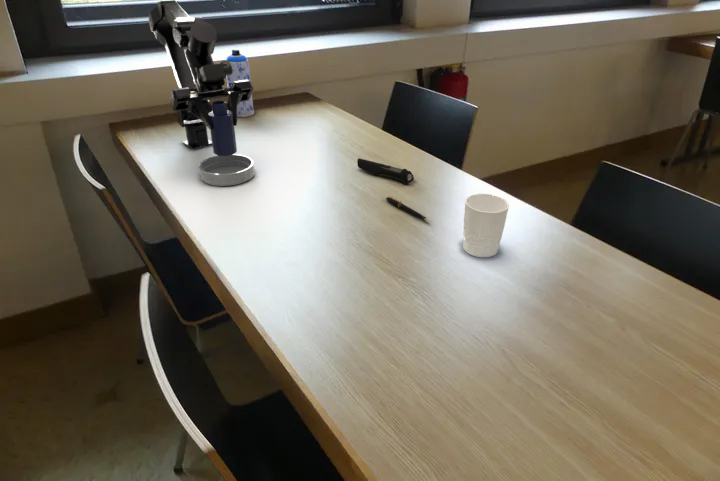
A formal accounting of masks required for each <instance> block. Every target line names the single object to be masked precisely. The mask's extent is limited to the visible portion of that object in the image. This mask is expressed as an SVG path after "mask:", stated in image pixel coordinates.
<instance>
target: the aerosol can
mask: <svg viewBox="0 0 720 481" xmlns="http://www.w3.org/2000/svg"><path fill="white" fill-rule="evenodd" d="M225 60H229V61H230V64H231V66H232V70H233V73H232V74H231V75H229V76H226V78H225V79H226V86H227V87H226V88H232V86H233V83H234V81H241V80H249V81H250V82H251V83H252V80H251V79H252V78H251V68H250V62H249V59H248V58H247V57H246V56H245V55H243V54H242V53H241V52H240V50H239V49H231V54H229V55H228V56H226V59H225ZM254 114H255V110H254V100H253V93H252V94H251V97H250V99H249V100H248V101H243V102H240V103H239V105H237V118H246V117H251V116H253V115H254Z"/></svg>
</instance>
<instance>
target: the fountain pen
mask: <svg viewBox="0 0 720 481" xmlns="http://www.w3.org/2000/svg"><path fill="white" fill-rule="evenodd" d="M385 200H386V201H387V202H389V204H391V205H393V206H394V207H397V208H398V209H400V210H402V211H405V212H406V213H408V214H410V215H412V216H414V217H416V218H419V219H420V220H422V221H426V222H430V220H429V219H428V218H427V217H426V216H424V215H423V214H421V213H420V212H418V211H416V210H414V209H413V208H411V207H409V206H407V205H405V203H402V200H400V199H398V198H396V197H393V196H390V195H388V196H386V197H385Z"/></svg>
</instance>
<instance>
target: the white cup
mask: <svg viewBox="0 0 720 481" xmlns="http://www.w3.org/2000/svg"><path fill="white" fill-rule="evenodd" d="M464 201H465V202H464V214H463V215H464V216H463V232H462V235H463V239H462V247H463V248H462V249H463V250H464V251H465V253H467V254H469V255H470V256H473V257H477V258H490V257H493V256H496V255H497V253H498V252H499V249H500V243H501V240H502V237H503V232H504V230H505V227H506V226H505V225H506V221H507V216H508V212H509V207H510V203H509V202H508V201H507V200H506V199H505V198H504V197H502V196H499V195H496V194H491V193H475V194H471V195H468V197H466V198H465V200H464Z"/></svg>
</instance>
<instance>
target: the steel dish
mask: <svg viewBox="0 0 720 481" xmlns="http://www.w3.org/2000/svg"><path fill="white" fill-rule="evenodd" d="M198 171H199V176H200V179H201V181H202V182H204V183H205V184H208V185H212V186H217V187H219V186H220V187H230V186H236V185H240V184H243V183H245V182H248V181H249V180H251V179H252V178H253V177H254V176H255V173H256V172H255V161H254V160H253V158H251V157H250V156H247V155H243V154H237V153H235V154H232V155H229V156H218V155H213V156H210V157H208V158H204V159H203V160H202V161H201V162H199V165H198Z"/></svg>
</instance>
